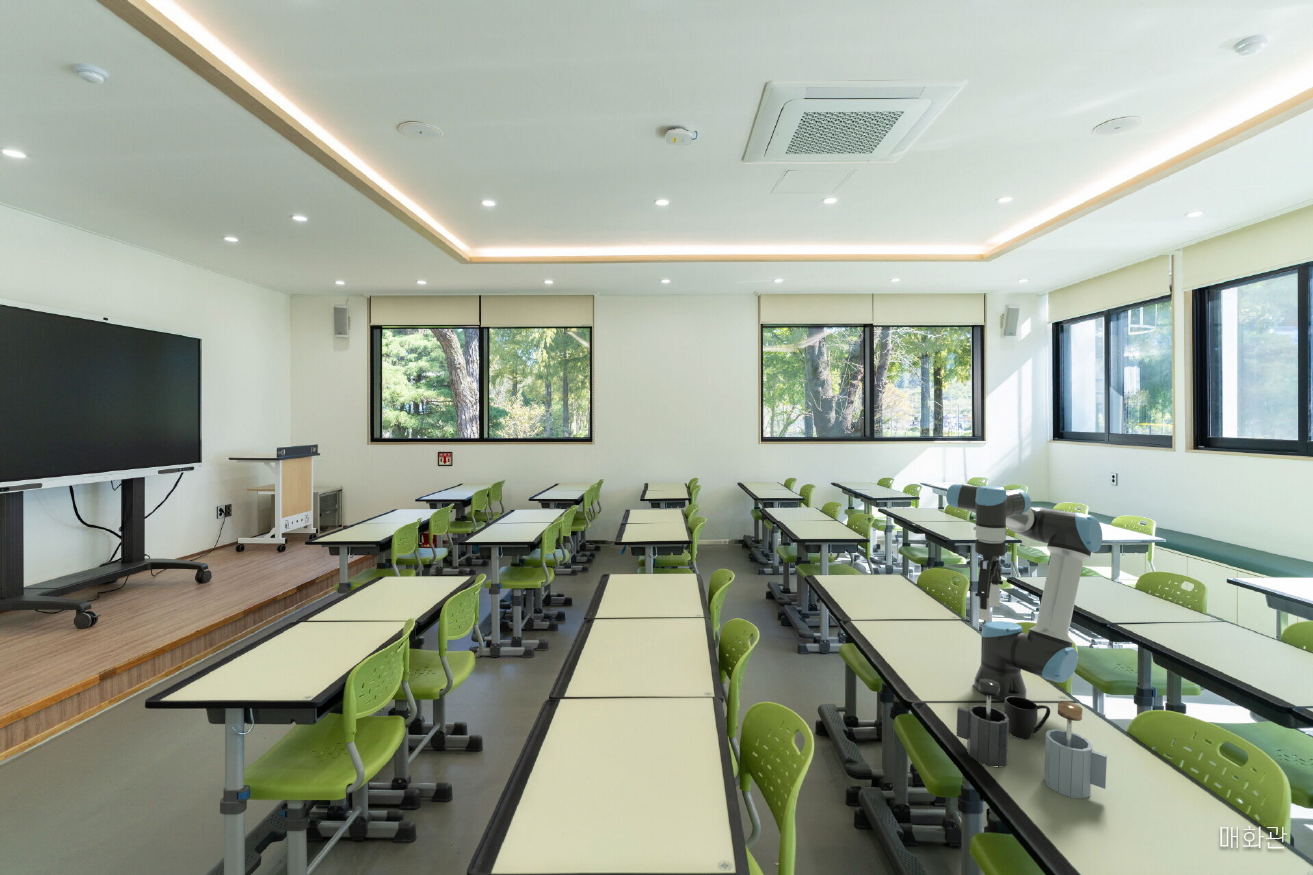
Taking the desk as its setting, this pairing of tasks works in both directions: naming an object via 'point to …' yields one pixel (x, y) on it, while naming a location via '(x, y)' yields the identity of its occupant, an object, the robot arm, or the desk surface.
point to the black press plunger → (989, 692)
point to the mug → (1023, 716)
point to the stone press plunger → (1069, 716)
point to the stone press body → (1073, 765)
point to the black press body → (984, 734)
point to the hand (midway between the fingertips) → (989, 612)
